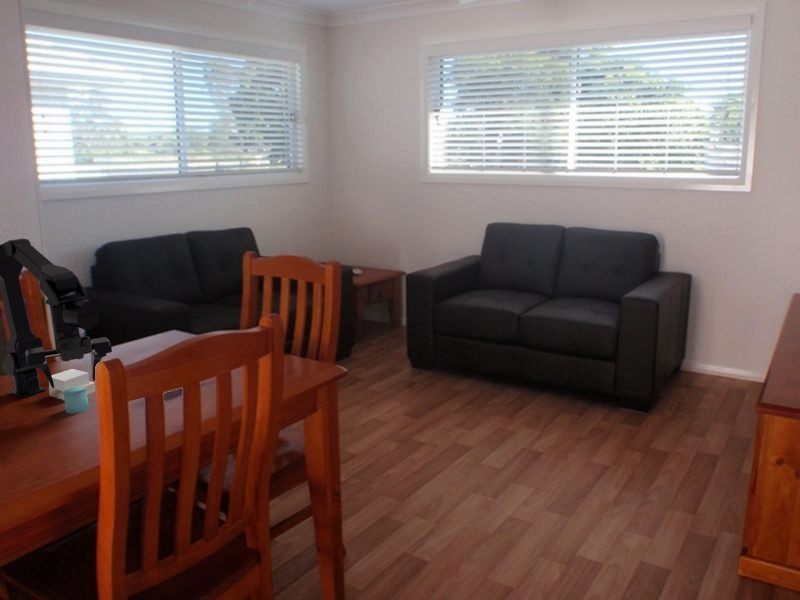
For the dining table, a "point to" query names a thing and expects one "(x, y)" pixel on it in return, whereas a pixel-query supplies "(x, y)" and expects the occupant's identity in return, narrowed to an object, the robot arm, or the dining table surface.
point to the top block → (70, 379)
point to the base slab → (60, 394)
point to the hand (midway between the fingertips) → (73, 384)
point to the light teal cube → (76, 400)
